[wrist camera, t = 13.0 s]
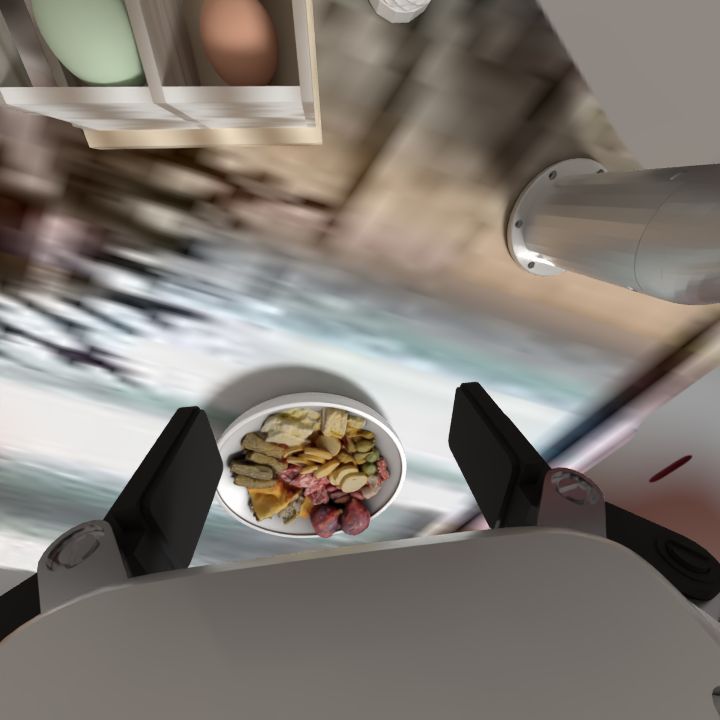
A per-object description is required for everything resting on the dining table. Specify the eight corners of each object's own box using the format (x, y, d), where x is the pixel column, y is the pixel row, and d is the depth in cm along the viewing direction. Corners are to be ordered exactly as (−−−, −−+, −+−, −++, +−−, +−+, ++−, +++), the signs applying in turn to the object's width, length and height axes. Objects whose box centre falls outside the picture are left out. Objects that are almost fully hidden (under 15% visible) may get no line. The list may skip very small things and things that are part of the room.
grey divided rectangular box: (309, -36, 24) (301, -173, 15) (322, 145, 30) (322, 123, 21) (29, -44, 23) (-168, -204, 14) (100, 149, 29) (-5, 128, 19)
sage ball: (106, -72, 17) (170, 49, 19) (119, 17, 21) (169, 106, 23) (-21, -79, 14) (67, 59, 16) (25, 22, 19) (89, 120, 21)
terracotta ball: (276, 11, 24) (265, -35, 20) (286, 100, 27) (279, 79, 22) (205, 9, 24) (175, -38, 19) (222, 100, 27) (200, 79, 22)
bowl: (176, 450, 47) (151, 493, 40) (327, 343, 41) (328, 373, 34) (302, 532, 61) (299, 575, 54) (430, 460, 55) (445, 499, 48)
